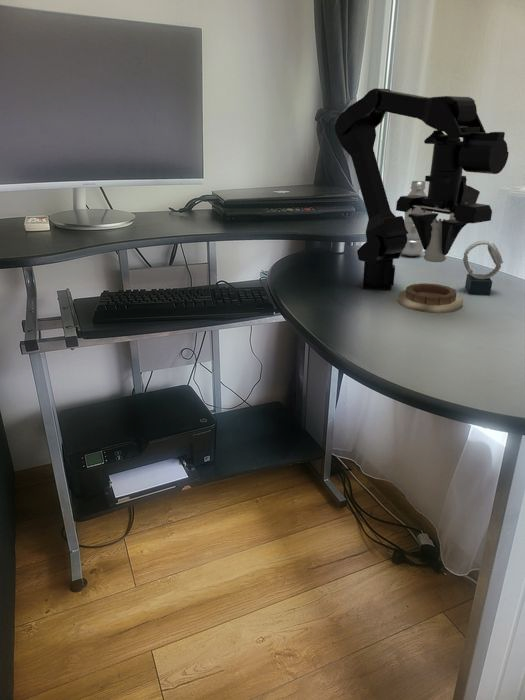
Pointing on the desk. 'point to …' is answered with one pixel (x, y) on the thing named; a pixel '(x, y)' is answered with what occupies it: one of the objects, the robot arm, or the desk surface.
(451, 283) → the desk surface
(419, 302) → the well tray
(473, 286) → the watch
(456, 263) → the desk surface
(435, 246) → the rook chess piece
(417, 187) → the plastic bottle
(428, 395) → the desk surface
